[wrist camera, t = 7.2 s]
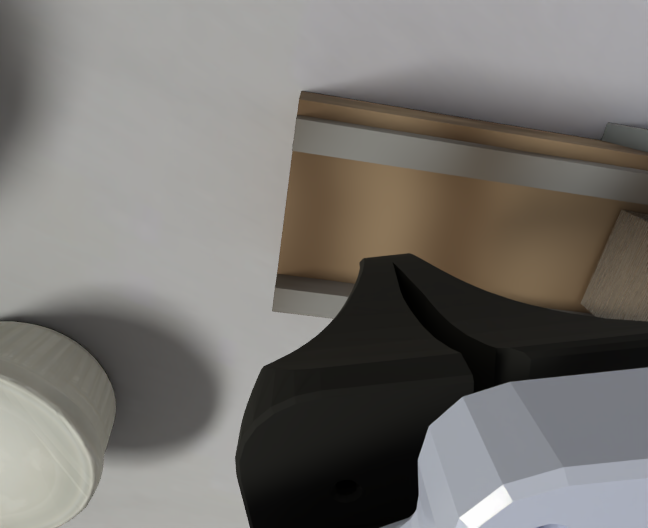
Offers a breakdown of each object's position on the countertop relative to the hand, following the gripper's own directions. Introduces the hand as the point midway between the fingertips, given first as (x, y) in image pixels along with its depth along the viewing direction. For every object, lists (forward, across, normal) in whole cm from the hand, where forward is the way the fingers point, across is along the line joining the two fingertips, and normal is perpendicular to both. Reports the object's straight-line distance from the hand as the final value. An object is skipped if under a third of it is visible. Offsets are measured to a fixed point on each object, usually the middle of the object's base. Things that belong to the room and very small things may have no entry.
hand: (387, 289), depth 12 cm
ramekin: (+11, +19, +9) cm, 24 cm away
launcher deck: (+10, -4, +1) cm, 11 cm away
